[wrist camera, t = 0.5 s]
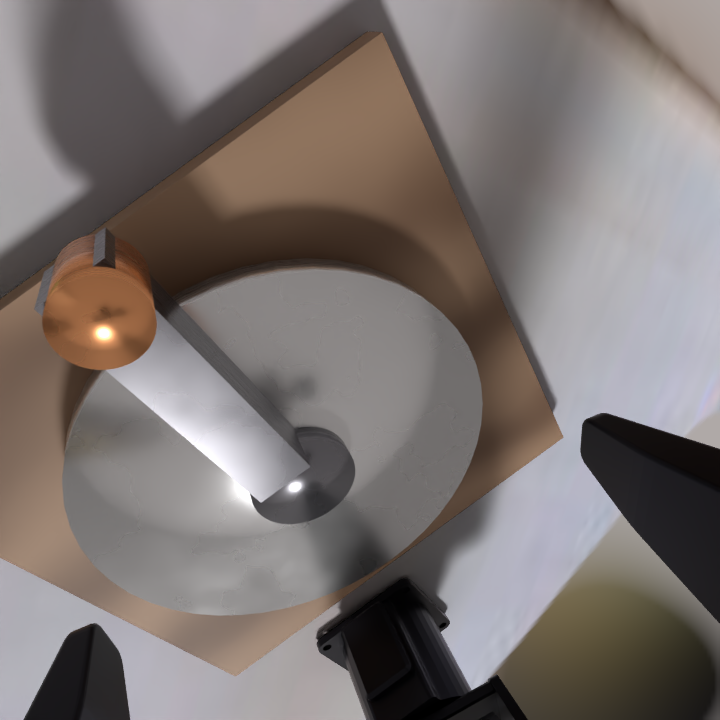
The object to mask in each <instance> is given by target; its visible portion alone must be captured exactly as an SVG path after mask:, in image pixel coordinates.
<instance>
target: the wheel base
mask: <svg viewBox="0 0 720 720" xmlns="http://www.w3.org/2000/svg"><path fill="white" fill-rule="evenodd" d="M105 227H106V228H107V229H108V230H109V231H110V232H111V233H112V234H113V235H114V236H115V237H117V238H119V239H122V240H124V241H126V242H127V243H129V244H131V245H132V246H133V247H135V248H136V249H137V250H138V251H139V252H140V254H141V255H142V256H143V258H144V259H145V261H146V263H147V265H148V269H149V273H150V274H151V276H152V277H153V278H154V279H155V280H156V281H157V282H158V283H159V284H160V285H161V286H162V287H163V288H164V289H165V290H166V291H167V293H168V294H169V295H170V296H171V297H173V296H175V295H176V294H178V293H179V292H181V291H183V290H185V289H187V288H190V287H192V286H194V285H196V284H198V283H200V282H202V281H204V280H206V279H208V278H211V277H214V276H217V275H220V274H223V273H226V272H229V271H232V270H235V269H238V268H241V267H245V266H250V265H255V264H259V263H264V262H269V261H275V260H288V259H302V258H309V259H327V260H338V261H343V262H348V263H353V264H358V265H363V266H366V267H369V268H371V269H374V270H377V271H380V272H383V273H386V274H388V275H390V276H392V277H394V278H396V279H397V280H399V281H401V282H403V283H405V284H407V285H409V286H410V287H411V288H413V289H414V290H415V291H417V292H418V293H419V294H420V295H422V296H423V297H424V298H426V299H427V300H428V301H429V302H430V303H432V304H433V305H434V306H435V307H436V308H437V309H438V310H439V311H441V312H442V313H443V314H444V315H445V317H446V318H447V319H448V320H449V321H450V322H451V323H452V324H453V325H454V326H455V327H456V328H457V330H458V331H459V333H460V334H461V336H462V337H463V339H464V340H465V342H466V343H467V345H468V347H469V349H470V351H471V353H472V356H473V358H474V360H475V363H476V365H477V369H478V374H479V378H480V382H481V389H482V402H483V406H482V421H481V427H480V432H479V437H478V442H477V445H476V448H475V451H474V454H473V457H472V460H471V463H470V465H469V467H468V469H467V471H466V473H465V475H464V477H463V479H462V481H461V483H460V485H459V486H458V488H457V490H456V491H455V493H454V495H453V496H452V498H451V499H450V501H449V502H448V503H447V505H446V506H445V507H444V509H443V510H442V511H441V513H440V514H439V515H438V516H437V517H436V519H435V520H434V521H433V522H432V523H431V524H430V525H429V526H428V527H427V529H426V530H425V531H424V532H423V533H422V534H421V535H420V536H418V537H417V538H416V539H415V540H414V541H413V542H412V543H411V544H410V545H409V546H408V547H406V548H405V549H404V550H403V551H401V552H400V553H399V554H398V555H396V556H395V557H394V558H393V559H391V560H390V561H388V562H387V563H385V564H384V565H382V566H381V567H379V568H378V569H376V570H375V571H373V572H372V573H370V574H368V575H367V576H365V577H363V578H361V579H360V580H358V581H356V582H354V583H352V584H350V585H348V586H346V587H344V588H342V589H340V590H337V591H335V592H333V593H331V594H328V595H326V596H323V597H320V598H318V599H315V600H312V601H310V602H306V603H303V604H299V605H296V606H292V607H289V608H284V609H279V610H274V611H269V612H264V613H255V614H246V615H219V616H217V615H205V614H193V613H188V612H183V611H177V610H172V609H169V608H166V607H162V606H159V605H156V604H153V603H150V602H148V601H145V600H143V599H141V598H139V597H137V596H135V595H132V594H130V593H128V592H127V591H125V590H124V589H122V588H121V587H119V586H118V585H116V584H115V583H113V582H112V581H110V580H109V579H108V578H107V577H106V576H105V575H104V574H103V573H101V572H100V571H99V570H98V569H97V568H96V567H95V566H94V565H93V564H92V562H91V561H90V560H89V558H88V557H87V556H86V555H85V553H84V552H83V551H82V549H81V548H80V546H79V544H78V542H77V540H76V538H75V536H74V534H73V532H72V530H71V528H70V525H69V522H68V518H67V514H66V511H65V507H64V500H63V488H62V475H63V466H64V457H65V448H66V439H67V431H68V428H69V424H70V421H71V417H72V414H73V411H74V407H75V405H76V402H77V400H78V398H79V396H80V394H81V392H82V390H83V388H84V386H85V384H86V382H87V380H88V378H89V377H90V375H91V374H92V372H93V371H94V369H88V368H84V367H80V366H77V365H75V364H73V363H71V362H69V361H67V360H65V359H64V358H62V357H61V356H60V355H59V354H58V353H56V352H55V351H54V349H53V348H52V347H51V346H50V344H49V343H48V341H47V339H46V337H45V334H44V331H43V325H42V316H41V315H40V314H39V313H38V312H36V311H35V310H34V308H35V304H36V300H37V297H38V293H39V289H40V285H41V282H42V278H43V274H44V271H46V270H47V269H49V268H50V267H51V266H53V265H54V264H55V261H56V259H57V258H56V259H55V260H53V261H52V262H50V263H49V264H48V265H46V266H45V267H44V268H42V269H41V270H40V271H38V272H37V273H35V274H34V275H33V276H31V277H30V278H29V279H27V280H26V281H24V282H23V283H22V284H20V285H19V286H18V287H16V288H15V289H13V290H12V291H11V292H9V293H8V294H7V295H5V296H4V297H2V298H1V299H0V558H2V559H4V560H6V561H8V562H10V563H12V564H14V565H16V566H18V567H20V568H22V569H24V570H26V571H28V572H30V573H32V574H34V575H36V576H38V577H40V578H41V579H43V580H45V581H47V582H49V583H51V584H53V585H55V586H57V587H59V588H61V589H63V590H65V591H67V592H69V593H71V594H73V595H75V596H77V597H79V598H81V599H83V600H85V601H87V602H89V603H91V604H93V605H95V606H97V607H99V608H101V609H103V610H105V611H107V612H109V613H111V614H113V615H115V616H117V617H119V618H121V619H123V620H125V621H127V622H129V623H131V624H133V625H135V626H137V627H139V628H141V629H143V630H145V631H147V632H149V633H151V634H153V635H155V636H157V637H158V638H160V639H162V640H164V641H166V642H168V643H170V644H172V645H174V646H176V647H178V648H180V649H182V650H184V651H186V652H188V653H190V654H192V655H194V656H196V657H198V658H200V659H202V660H204V661H206V662H208V663H210V664H212V665H214V666H216V667H218V668H220V669H222V670H224V671H226V672H228V673H230V674H232V675H234V676H237V675H238V674H240V673H241V672H242V671H244V670H245V669H246V668H248V667H249V666H251V665H252V664H253V663H255V662H256V661H257V660H259V659H260V658H262V657H263V656H264V655H266V654H267V653H268V652H270V651H271V650H273V649H274V648H275V647H277V646H278V645H279V644H281V643H282V642H284V641H285V640H286V639H288V638H289V637H290V636H292V635H293V634H294V633H296V632H297V631H299V630H300V629H301V628H303V627H304V626H305V625H307V624H308V623H310V622H311V621H312V620H314V619H315V618H316V617H318V616H319V615H321V614H322V613H323V612H325V611H326V610H327V609H329V608H330V607H331V606H333V605H334V604H336V603H337V602H338V601H340V600H341V599H342V598H344V597H345V596H347V595H348V594H349V593H351V592H352V591H353V590H355V589H356V588H358V587H359V586H360V585H362V584H363V583H364V582H366V581H367V580H368V579H370V578H371V577H373V576H374V575H375V574H377V573H378V572H379V571H381V570H382V569H384V568H385V567H386V566H388V565H389V564H390V563H392V562H393V561H395V560H396V559H397V558H399V557H400V556H401V555H403V554H404V553H406V552H407V551H408V550H410V549H411V548H412V547H414V546H415V545H416V544H418V543H419V542H421V541H422V540H423V539H425V538H426V537H427V536H429V535H430V534H432V533H433V532H434V531H436V530H437V529H438V528H440V527H441V526H443V525H444V524H445V523H447V522H448V521H449V520H451V519H452V518H453V517H455V516H456V515H458V514H459V513H460V512H462V511H463V510H464V509H466V508H467V507H469V506H470V505H471V504H473V503H474V502H475V501H477V500H478V499H480V498H481V497H482V496H484V495H485V494H486V493H488V492H489V491H491V490H492V489H493V488H495V487H496V486H497V485H499V484H500V483H501V482H503V481H504V480H506V479H507V478H508V477H510V476H511V475H512V474H514V473H515V472H517V471H518V470H519V469H521V468H522V467H523V466H525V465H526V464H528V463H529V462H530V461H532V460H533V459H534V458H536V457H537V456H538V455H540V454H541V453H543V452H544V451H545V450H547V449H548V448H549V447H551V446H552V445H554V444H555V443H556V442H558V441H559V440H560V439H562V438H563V435H562V433H561V431H560V428H559V426H558V424H557V422H556V420H555V417H554V415H553V413H552V411H551V408H550V406H549V404H548V402H547V399H546V397H545V395H544V393H543V391H542V388H541V386H540V384H539V382H538V379H537V377H536V375H535V373H534V370H533V368H532V366H531V364H530V361H529V359H528V357H527V355H526V353H525V350H524V348H523V346H522V344H521V341H520V339H519V337H518V335H517V332H516V330H515V328H514V326H513V323H512V321H511V319H510V317H509V315H508V312H507V310H506V308H505V306H504V303H503V301H502V299H501V297H500V294H499V292H498V290H497V288H496V285H495V283H494V281H493V279H492V277H491V274H490V272H489V270H488V268H487V265H486V263H485V261H484V259H483V256H482V254H481V252H480V250H479V247H478V245H477V243H476V241H475V239H474V236H473V234H472V232H471V230H470V227H469V225H468V223H467V221H466V218H465V216H464V214H463V212H462V209H461V207H460V205H459V203H458V201H457V198H456V196H455V194H454V192H453V189H452V187H451V185H450V183H449V180H448V178H447V176H446V174H445V171H444V169H443V167H442V165H441V163H440V160H439V158H438V156H437V154H436V151H435V149H434V147H433V145H432V142H431V140H430V138H429V136H428V133H427V131H426V129H425V127H424V125H423V122H422V120H421V118H420V116H419V113H418V111H417V109H416V107H415V104H414V102H413V100H412V98H411V95H410V93H409V91H408V89H407V87H406V84H405V82H404V80H403V78H402V75H401V73H400V71H399V69H398V66H397V64H396V62H395V60H394V57H393V55H392V53H391V51H390V49H389V46H388V44H387V42H386V40H385V37H384V35H383V33H382V32H366V33H365V34H363V35H362V36H360V37H359V38H358V39H356V40H355V41H354V42H352V43H351V44H349V45H348V46H347V47H345V48H344V49H343V50H341V51H340V52H338V53H337V54H336V55H334V56H333V57H332V58H330V59H329V60H328V61H326V62H325V63H323V64H322V65H321V66H319V67H318V68H317V69H315V70H314V71H312V72H311V73H310V74H308V75H307V76H306V77H304V78H303V79H301V80H300V81H299V82H297V83H296V84H295V85H293V86H292V87H290V88H289V89H288V90H286V91H285V92H284V93H282V94H281V95H280V96H278V97H277V98H275V99H274V100H273V101H271V102H270V103H269V104H267V105H266V106H264V107H263V108H262V109H260V110H259V111H258V112H256V113H255V114H253V115H252V116H251V117H249V118H248V119H247V120H245V121H244V122H242V123H241V124H240V125H238V126H237V127H236V128H234V129H233V130H232V131H230V132H229V133H227V134H226V135H225V136H223V137H222V138H221V139H219V140H218V141H216V142H215V143H214V144H212V145H211V146H210V147H208V148H207V149H205V150H204V151H203V152H201V153H200V154H199V155H197V156H196V157H194V158H193V159H192V160H190V161H189V162H188V163H186V164H185V165H184V166H182V167H181V168H179V169H178V170H177V171H175V172H174V173H173V174H171V175H170V176H168V177H167V178H166V179H164V180H163V181H162V182H160V183H159V184H157V185H156V186H155V187H153V188H152V189H151V190H149V191H148V192H146V193H145V194H144V195H142V196H141V197H140V198H138V199H137V200H136V201H134V202H133V203H131V204H130V205H129V206H127V207H126V208H125V209H123V210H122V211H120V212H119V213H118V214H116V215H115V216H114V217H112V218H111V219H109V220H108V221H107V222H105V223H104V224H103V225H101V226H100V227H98V228H97V229H96V230H94V231H93V232H92V233H90V234H89V235H95V234H97V233H98V232H99V231H101V230H102V229H103V228H105Z"/></svg>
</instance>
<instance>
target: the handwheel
mask: <svg viewBox="0 0 720 720" xmlns="http://www.w3.org/2000/svg"><path fill="white" fill-rule="evenodd" d="M34 310H35V311H36V312H38V313H39V314H40V315H41V316H42V325H43V331H44V334H45V337H46V339H47V341H48V343H49V344H50V346H51V347H52V348H53V349H54V351H55V352H56V353H58V354H59V355H60V356H61V357H62V358H64V359H65V360H67V361H69V362H71V363H73V364H75V365H77V366H80V367H84V368H88V369H94V371H93V372H92V374H91V375H90V377H89V378H88V380H87V382H86V384H85V386H84V388H83V390H82V392H81V394H80V396H79V398H78V400H77V402H76V405H75V407H74V411H73V414H72V417H71V421H70V424H69V428H68V431H67V439H66V448H65V457H64V466H63V475H62V488H63V500H64V507H65V511H66V514H67V518H68V522H69V525H70V528H71V530H72V532H73V534H74V536H75V538H76V540H77V542H78V544H79V546H80V548H81V549H82V551H83V552H84V553H85V555H86V556H87V557H88V558H89V560H90V561H91V562H92V564H93V565H94V566H95V567H96V568H97V569H98V570H99V571H100V572H101V573H103V574H104V575H105V576H106V577H107V578H108V579H109V580H110V581H112V582H113V583H115V584H116V585H118V586H119V587H121V588H122V589H124V590H125V591H127V592H128V593H130V594H132V595H135V596H137V597H139V598H141V599H143V600H145V601H148V602H150V603H153V604H156V605H159V606H162V607H166V608H169V609H172V610H177V611H183V612H188V613H193V614H205V615H217V616H219V615H246V614H255V613H264V612H269V611H274V610H279V609H284V608H289V607H292V606H296V605H299V604H303V603H306V602H310V601H312V600H315V599H318V598H320V597H323V596H326V595H328V594H331V593H333V592H335V591H337V590H340V589H342V588H344V587H346V586H348V585H350V584H352V583H354V582H356V581H358V580H360V579H361V578H363V577H365V576H367V575H368V574H370V573H372V572H373V571H375V570H376V569H378V568H379V567H381V566H382V565H384V564H385V563H387V562H388V561H390V560H391V559H393V558H394V557H395V556H396V555H398V554H399V553H400V552H401V551H403V550H404V549H405V548H406V547H408V546H409V545H410V544H411V543H412V542H413V541H414V540H415V539H416V538H417V537H418V536H420V535H421V534H422V533H423V532H424V531H425V530H426V529H427V527H428V526H429V525H430V524H431V523H432V522H433V521H434V520H435V519H436V517H437V516H438V515H439V514H440V513H441V511H442V510H443V509H444V507H445V506H446V505H447V503H448V502H449V501H450V499H451V498H452V496H453V495H454V493H455V491H456V490H457V488H458V486H459V485H460V483H461V481H462V479H463V477H464V475H465V473H466V471H467V469H468V467H469V465H470V463H471V460H472V457H473V454H474V451H475V448H476V445H477V442H478V437H479V432H480V427H481V421H482V406H483V402H482V389H481V382H480V378H479V374H478V369H477V365H476V363H475V360H474V358H473V356H472V353H471V351H470V349H469V347H468V345H467V343H466V342H465V340H464V339H463V337H462V336H461V334H460V333H459V331H458V330H457V328H456V327H455V326H454V325H453V324H452V323H451V322H450V321H449V320H448V319H447V318H446V317H445V315H444V314H443V313H442V312H441V311H439V310H438V309H437V308H436V307H435V306H434V305H433V304H432V303H430V302H429V301H428V300H427V299H426V298H424V297H423V296H422V295H420V294H419V293H418V292H417V291H415V290H414V289H413V288H411V287H410V286H409V285H407V284H405V283H403V282H401V281H399V280H397V279H396V278H394V277H392V276H390V275H388V274H386V273H383V272H380V271H377V270H374V269H371V268H369V267H366V266H363V265H358V264H353V263H348V262H343V261H338V260H327V259H309V258H302V259H288V260H275V261H269V262H264V263H259V264H255V265H250V266H245V267H241V268H238V269H235V270H232V271H229V272H226V273H223V274H220V275H217V276H214V277H211V278H208V279H206V280H204V281H202V282H200V283H198V284H196V285H194V286H192V287H190V288H187V289H185V290H183V291H181V292H179V293H178V294H176V295H175V296H173V297H171V296H170V295H169V294H168V293H167V291H166V290H165V289H164V288H163V287H162V286H161V285H160V284H159V283H158V282H157V281H156V280H155V279H154V278H153V277H152V276H151V274H150V273H149V269H148V265H147V263H146V261H145V259H144V258H143V256H142V255H141V254H140V252H139V251H138V250H137V249H136V248H135V247H133V246H132V245H131V244H129V243H127V242H126V241H124V240H122V239H119V238H117V237H115V236H114V235H113V234H112V233H111V232H110V231H109V230H108V229H107V228H106V227H105V228H103V229H102V230H101V231H99V232H98V233H97V234H95V235H88V236H84V237H80V238H78V239H76V240H74V241H72V242H70V243H69V244H68V245H67V246H65V247H64V248H63V249H62V251H61V252H60V253H59V255H58V257H57V259H56V261H55V264H54V265H53V266H51V267H50V268H49V269H47V270H46V271H44V274H43V278H42V282H41V285H40V289H39V293H38V297H37V300H36V304H35V308H34Z"/></svg>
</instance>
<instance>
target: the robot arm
mask: <svg viewBox="0 0 720 720" xmlns="http://www.w3.org/2000/svg"><path fill="white" fill-rule="evenodd" d="M580 450H581V456H582V459H583V461H584V463H585V464H586V466H587V467H588V468H589V470H590V471H591V472H592V474H593V475H594V476H595V478H596V479H597V480H598V482H599V483H600V485H601V486H602V487H603V489H604V490H605V491H606V493H607V494H608V495H609V497H610V498H611V499H612V501H613V502H614V503H615V505H616V506H617V507H618V509H619V510H620V511H621V513H622V514H623V516H624V517H625V518H626V519H627V521H628V522H629V523H630V525H631V526H632V527H633V528H634V529H635V531H636V532H637V533H638V534H639V535H640V536H641V537H642V539H643V540H644V541H645V542H646V543H647V544H648V545H649V546H650V547H651V548H652V550H653V551H654V552H655V553H656V554H657V555H658V556H659V557H660V558H661V559H662V561H663V562H664V563H665V564H666V565H667V566H668V567H669V568H670V569H671V570H672V572H673V573H674V574H675V575H676V576H677V577H678V578H679V579H680V580H681V581H682V582H683V584H684V585H685V586H686V587H687V588H688V589H689V590H690V591H691V592H692V593H693V595H694V596H695V597H696V598H697V599H698V600H699V601H700V602H701V603H702V604H703V606H704V607H705V608H706V609H707V610H708V611H709V612H710V613H711V614H712V615H713V617H714V618H715V619H716V620H717V621H718V622H719V623H720V449H718V448H715V447H712V446H709V445H706V444H703V443H699V442H696V441H693V440H690V439H687V438H684V437H681V436H677V435H674V434H671V433H668V432H665V431H662V430H658V429H655V428H652V427H649V426H646V425H643V424H639V423H636V422H633V421H630V420H627V419H624V418H620V417H617V416H614V415H611V414H607V413H600V414H597V415H595V416H593V417H590V418H588V419H586V420H585V421H584V422H583V425H582V436H581V449H580ZM449 624H450V621H449V619H448V618H447V616H446V615H445V614H444V613H443V612H442V611H441V610H440V609H439V608H438V607H437V606H436V605H435V604H434V603H433V602H432V601H431V600H430V599H429V598H428V597H427V596H426V595H425V594H424V593H423V592H422V591H421V590H420V589H419V588H418V587H417V586H416V585H415V584H414V583H413V582H412V581H411V580H410V579H402V580H400V581H399V582H397V583H396V584H394V585H393V586H392V587H390V588H389V589H388V590H386V591H385V592H383V593H382V594H381V595H379V596H378V597H377V598H375V599H374V600H373V601H371V602H370V603H368V604H367V605H366V606H364V607H363V608H362V609H360V610H359V611H357V612H356V613H355V614H353V615H352V616H351V617H349V618H348V619H346V620H345V621H344V622H342V623H341V624H340V625H338V626H337V627H336V628H334V629H333V630H331V631H330V632H329V633H327V634H326V635H325V636H323V637H322V638H320V639H319V640H318V642H317V647H318V650H319V652H320V653H321V654H323V655H324V656H326V657H327V658H329V659H331V660H332V661H334V662H335V663H337V664H338V665H340V666H341V667H343V668H345V669H346V670H348V671H349V673H350V676H351V679H352V682H353V684H354V687H355V690H356V693H357V695H358V698H359V701H360V704H361V706H362V709H363V712H364V715H365V717H366V720H527V718H526V716H525V715H524V713H523V712H522V710H521V709H520V708H519V706H518V705H517V703H516V702H515V700H514V699H513V697H512V696H511V694H510V693H509V691H508V690H507V688H506V687H505V685H504V684H503V682H502V681H501V679H500V678H499V676H498V675H495V676H493V677H491V678H489V679H488V682H486V683H484V684H483V685H481V686H479V687H477V688H475V689H474V690H471V688H470V686H469V685H468V683H467V681H466V679H465V677H464V675H463V673H462V671H461V670H460V668H459V666H458V664H457V662H456V660H455V658H454V657H453V655H452V653H451V651H450V649H449V647H448V645H447V644H446V642H445V640H444V638H443V636H442V634H441V631H443V630H444V629H445V628H447V627H448V625H449ZM24 720H130V714H129V707H128V700H127V692H126V685H125V678H124V670H123V663H122V659H121V656H120V653H119V651H118V649H117V648H116V646H115V645H114V644H113V642H112V641H111V640H110V638H109V637H108V636H107V634H106V633H105V632H104V630H103V629H102V628H101V627H100V626H99V625H98V624H96V623H93V624H90V625H87V626H85V627H82V628H80V629H78V630H75V631H73V632H71V633H70V634H69V635H68V636H67V637H66V639H65V640H64V642H63V644H62V646H61V648H60V650H59V652H58V654H57V656H56V658H55V660H54V662H53V664H52V665H51V667H50V669H49V671H48V673H47V675H46V677H45V679H44V681H43V683H42V685H41V687H40V689H39V691H38V693H37V695H36V697H35V698H34V700H33V702H32V704H31V706H30V708H29V710H28V712H27V714H26V716H25V718H24Z"/></svg>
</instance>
